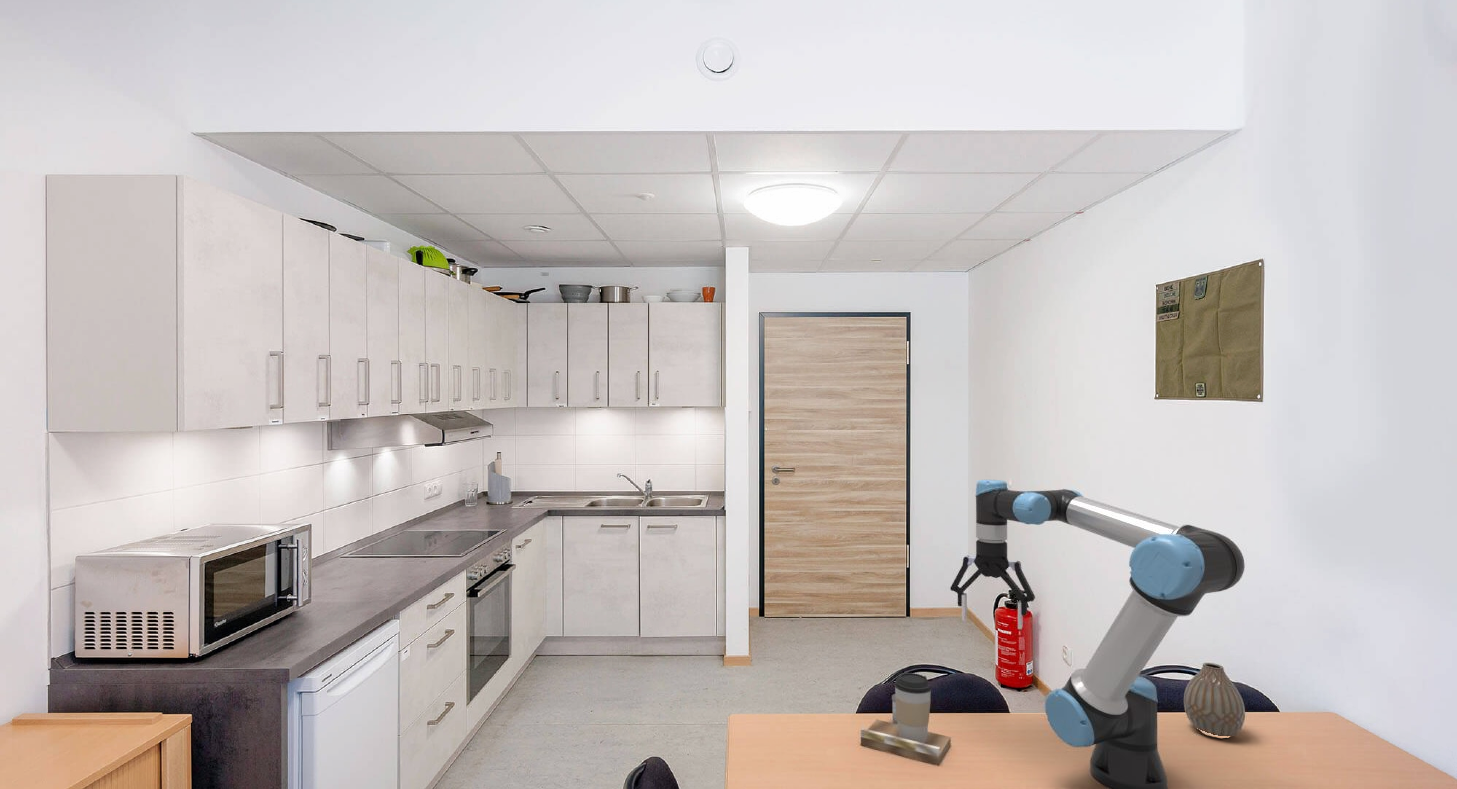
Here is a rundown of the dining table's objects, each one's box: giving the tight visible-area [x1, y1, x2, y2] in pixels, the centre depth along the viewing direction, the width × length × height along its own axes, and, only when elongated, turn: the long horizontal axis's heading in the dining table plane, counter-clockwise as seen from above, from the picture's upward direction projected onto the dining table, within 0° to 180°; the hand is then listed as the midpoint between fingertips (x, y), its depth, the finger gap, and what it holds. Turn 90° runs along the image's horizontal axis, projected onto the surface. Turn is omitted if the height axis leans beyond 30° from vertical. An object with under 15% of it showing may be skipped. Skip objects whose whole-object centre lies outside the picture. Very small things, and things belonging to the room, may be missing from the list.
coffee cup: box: [893, 672, 933, 743], centre depth 171 cm, size 9×9×15 cm
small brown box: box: [860, 718, 952, 766], centre depth 171 cm, size 19×12×4 cm, turn 59°
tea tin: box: [891, 693, 898, 724], centre depth 183 cm, size 5×5×7 cm
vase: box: [1183, 662, 1246, 737], centre depth 180 cm, size 13×13×18 cm
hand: (991, 623), depth 177 cm, fingers open, 13 cm apart
